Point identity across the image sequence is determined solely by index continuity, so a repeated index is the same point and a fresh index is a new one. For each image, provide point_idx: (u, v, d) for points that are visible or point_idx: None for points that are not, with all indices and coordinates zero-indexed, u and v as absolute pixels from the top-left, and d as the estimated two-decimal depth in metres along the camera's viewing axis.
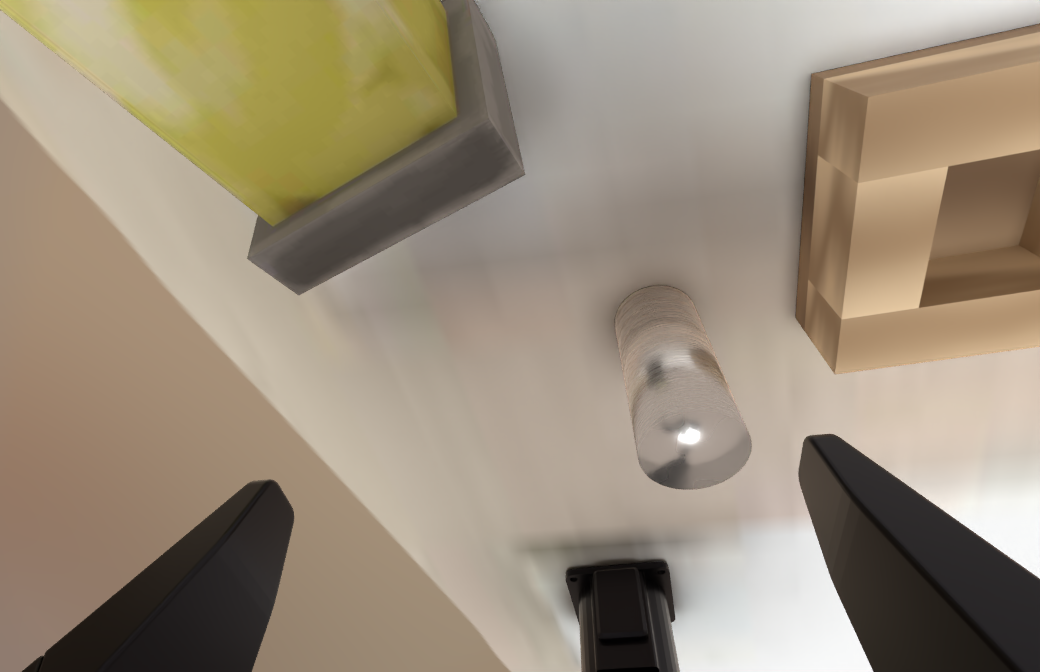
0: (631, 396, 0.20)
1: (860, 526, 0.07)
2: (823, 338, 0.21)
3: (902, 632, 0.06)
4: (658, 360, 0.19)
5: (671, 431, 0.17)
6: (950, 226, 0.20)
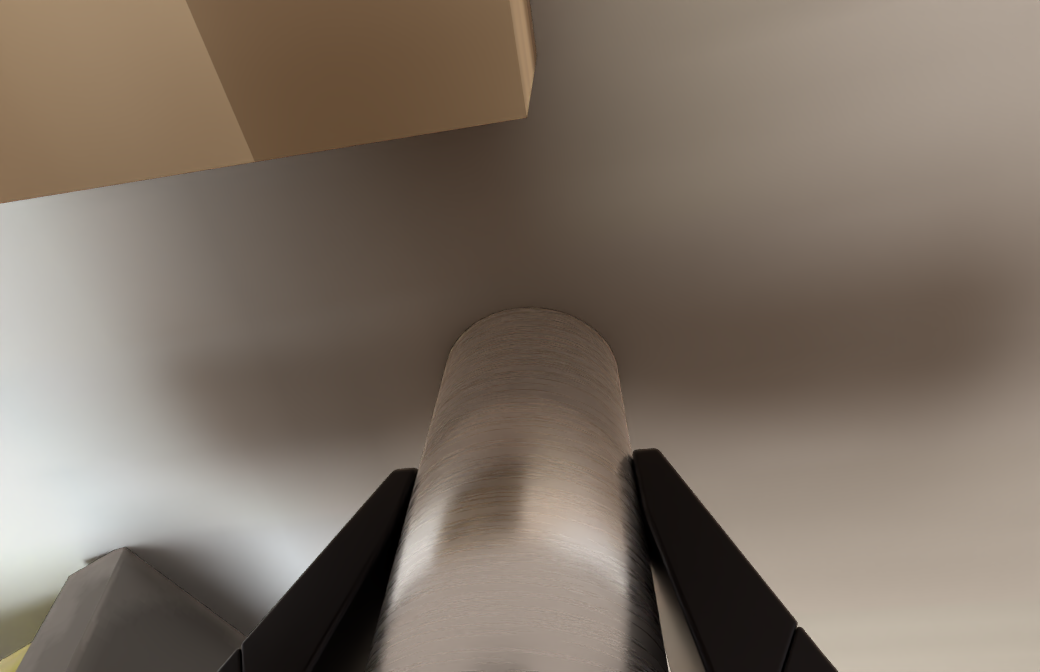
0: None
1: (650, 539, 0.07)
2: None
3: (675, 640, 0.07)
4: None
5: None
6: None
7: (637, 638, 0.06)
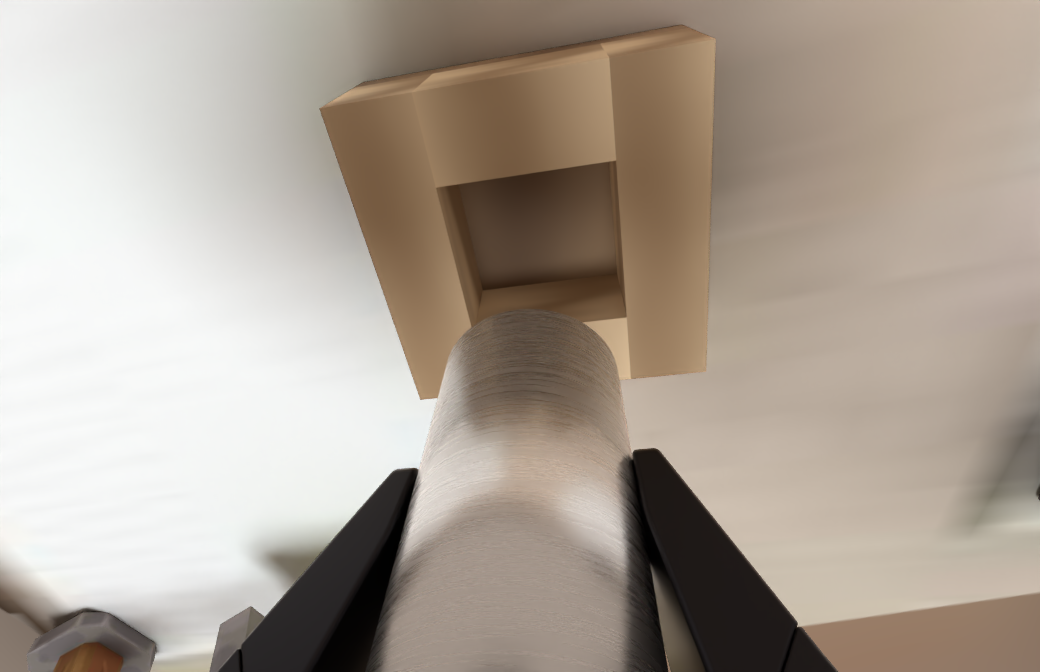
0: None
1: (650, 539, 0.07)
2: None
3: (675, 640, 0.07)
4: None
5: None
6: (574, 216, 0.19)
7: (638, 640, 0.06)
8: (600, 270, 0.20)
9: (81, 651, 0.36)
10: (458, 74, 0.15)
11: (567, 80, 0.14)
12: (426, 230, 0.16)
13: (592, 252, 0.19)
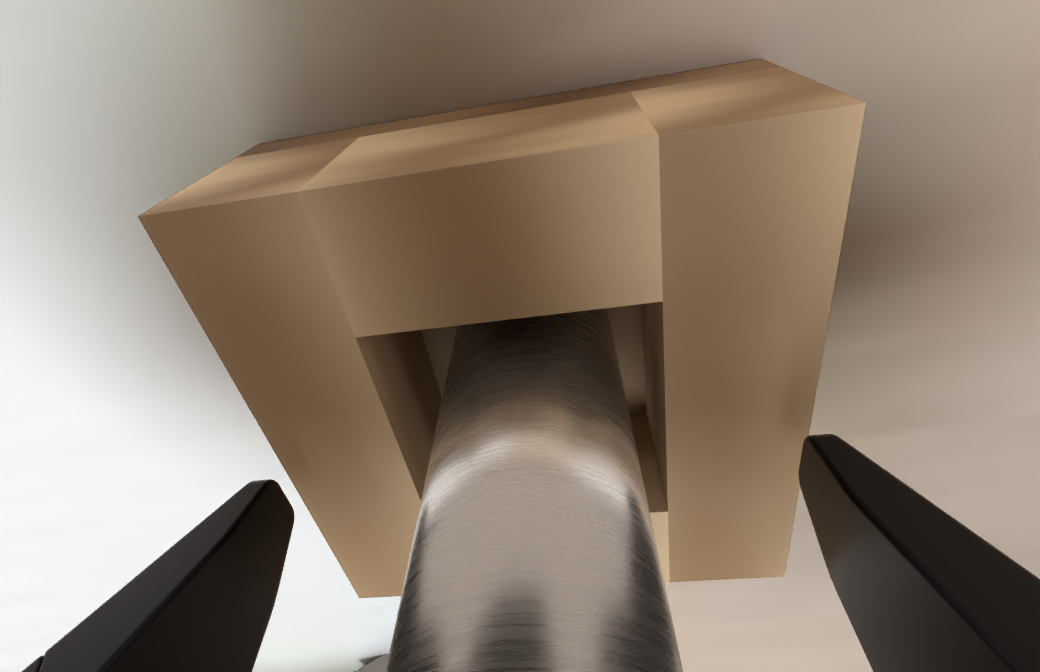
0: None
1: (860, 526, 0.07)
2: None
3: (902, 632, 0.06)
4: None
5: None
6: None
7: (635, 532, 0.07)
8: None
9: None
10: (393, 146, 0.09)
11: (580, 173, 0.07)
12: (346, 396, 0.10)
13: None
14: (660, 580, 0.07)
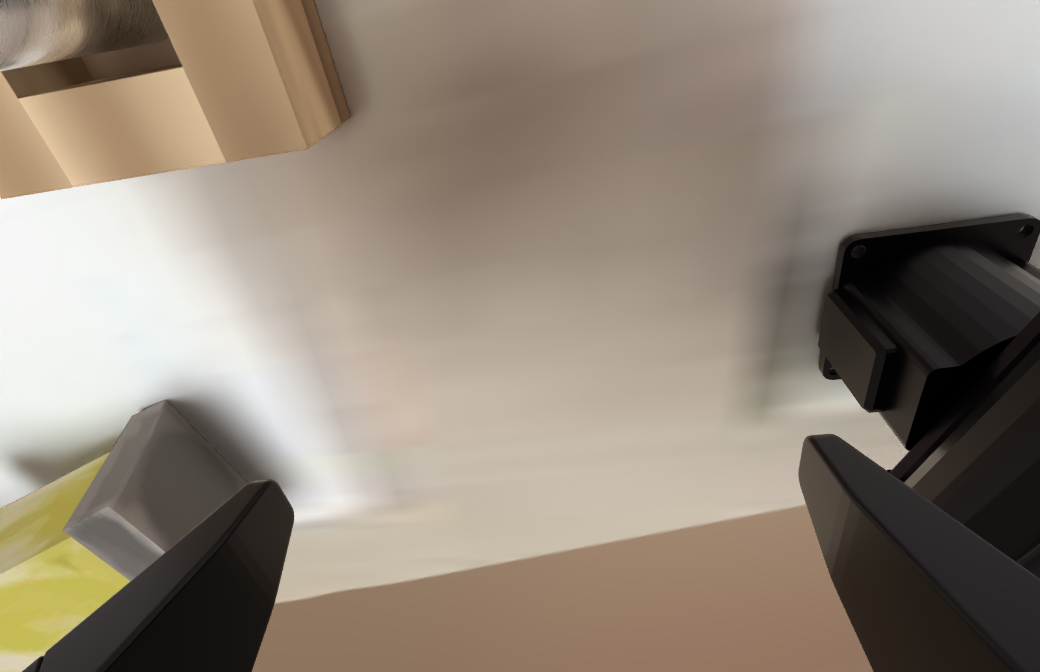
0: None
1: (860, 526, 0.07)
2: None
3: (902, 632, 0.06)
4: None
5: None
6: None
7: None
8: None
9: None
10: None
11: None
12: None
13: None
14: None
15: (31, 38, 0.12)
